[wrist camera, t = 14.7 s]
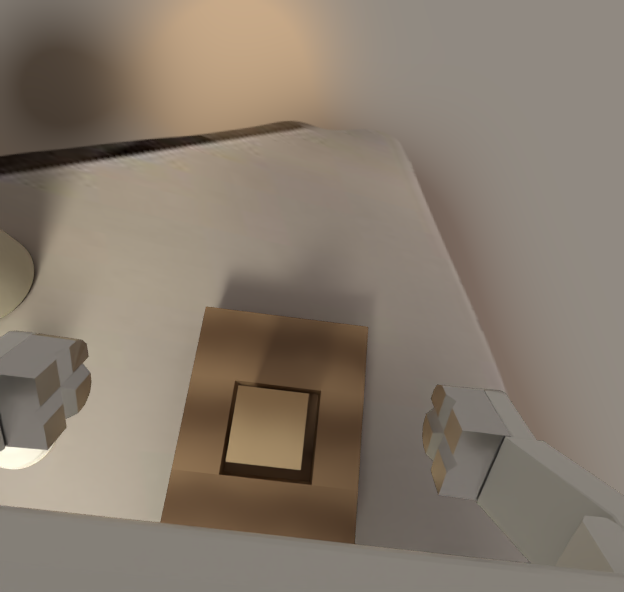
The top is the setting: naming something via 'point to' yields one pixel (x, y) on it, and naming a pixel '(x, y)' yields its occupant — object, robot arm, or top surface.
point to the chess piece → (20, 457)
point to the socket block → (317, 439)
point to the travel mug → (13, 273)
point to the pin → (268, 428)
